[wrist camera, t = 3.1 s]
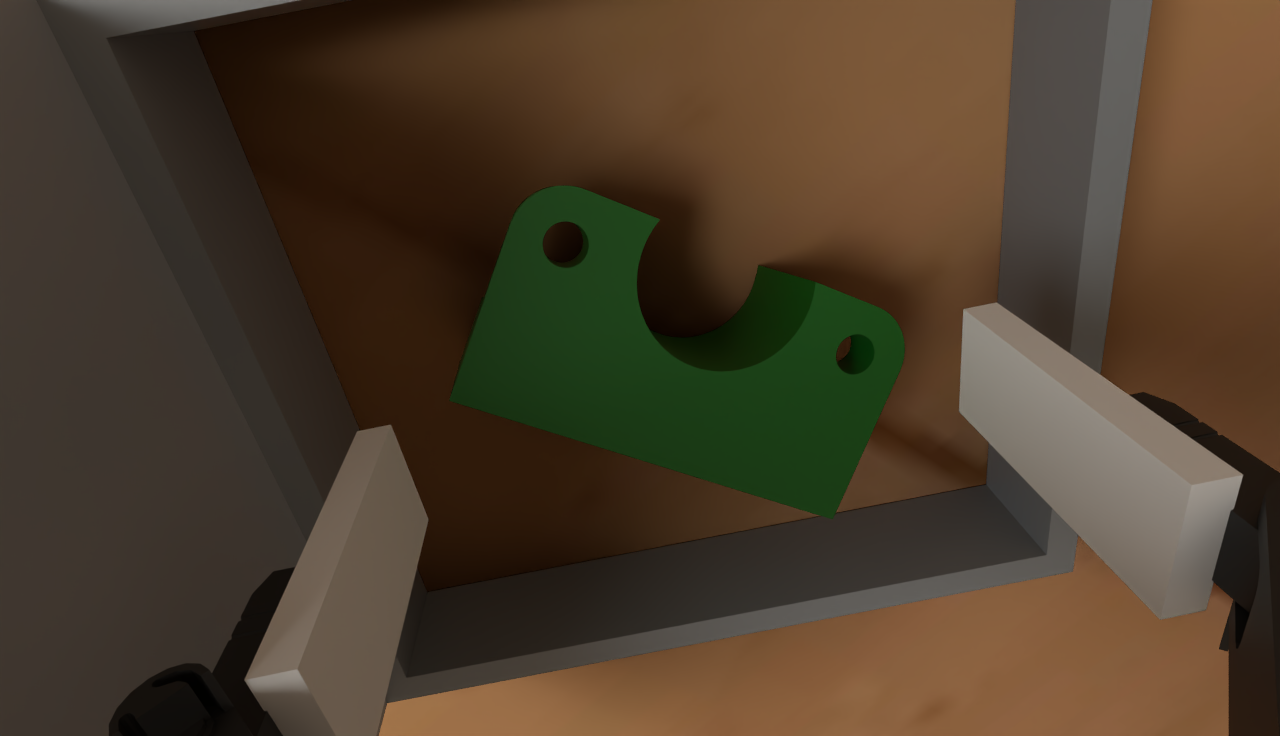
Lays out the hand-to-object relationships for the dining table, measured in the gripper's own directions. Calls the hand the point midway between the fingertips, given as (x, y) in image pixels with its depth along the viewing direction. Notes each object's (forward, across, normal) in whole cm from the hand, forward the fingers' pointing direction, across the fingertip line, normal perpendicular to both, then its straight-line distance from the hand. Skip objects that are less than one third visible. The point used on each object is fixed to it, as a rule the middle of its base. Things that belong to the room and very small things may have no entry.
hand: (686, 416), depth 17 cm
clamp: (+8, 0, +1) cm, 8 cm away
